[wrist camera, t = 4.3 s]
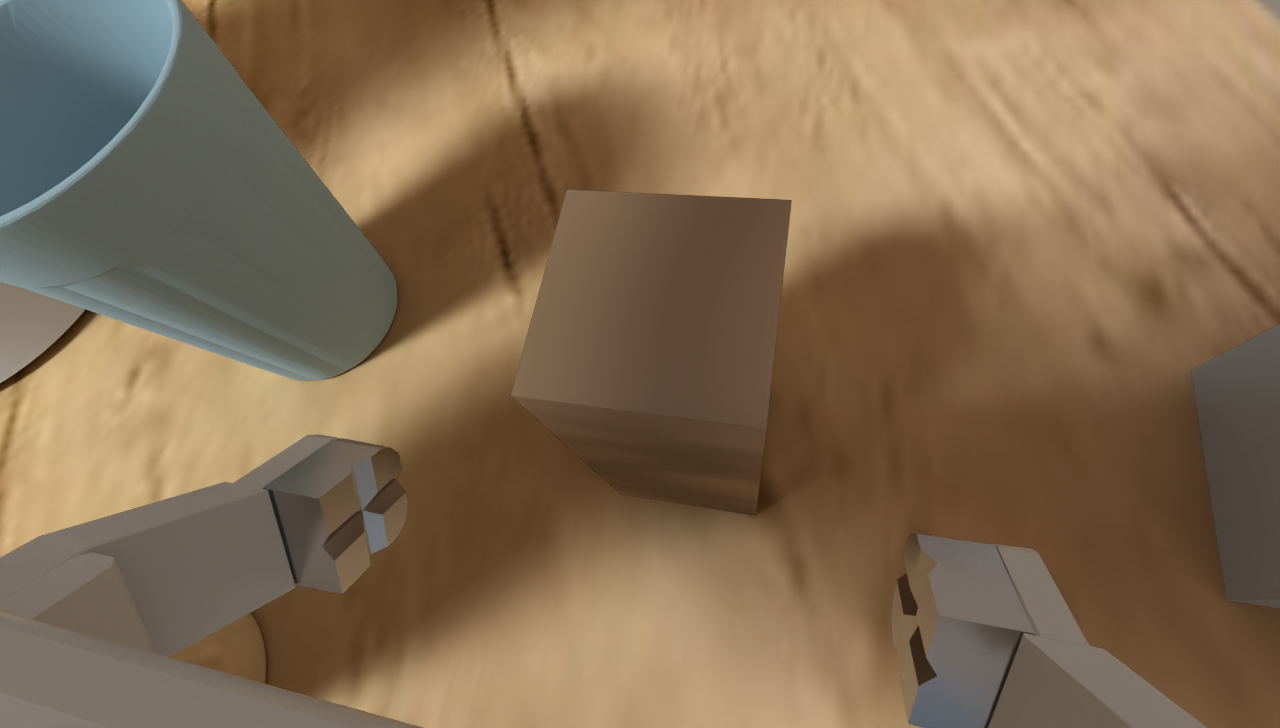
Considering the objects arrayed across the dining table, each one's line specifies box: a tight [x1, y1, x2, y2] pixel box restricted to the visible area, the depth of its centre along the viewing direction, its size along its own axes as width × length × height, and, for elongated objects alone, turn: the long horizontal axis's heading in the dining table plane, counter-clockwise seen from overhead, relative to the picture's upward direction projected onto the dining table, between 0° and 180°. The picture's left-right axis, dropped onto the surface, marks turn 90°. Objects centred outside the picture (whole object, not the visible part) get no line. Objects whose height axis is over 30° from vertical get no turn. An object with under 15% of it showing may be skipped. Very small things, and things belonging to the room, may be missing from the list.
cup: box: [0, 0, 398, 381], centre depth 17 cm, size 8×8×10 cm
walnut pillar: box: [511, 190, 792, 516], centre depth 14 cm, size 4×4×9 cm
